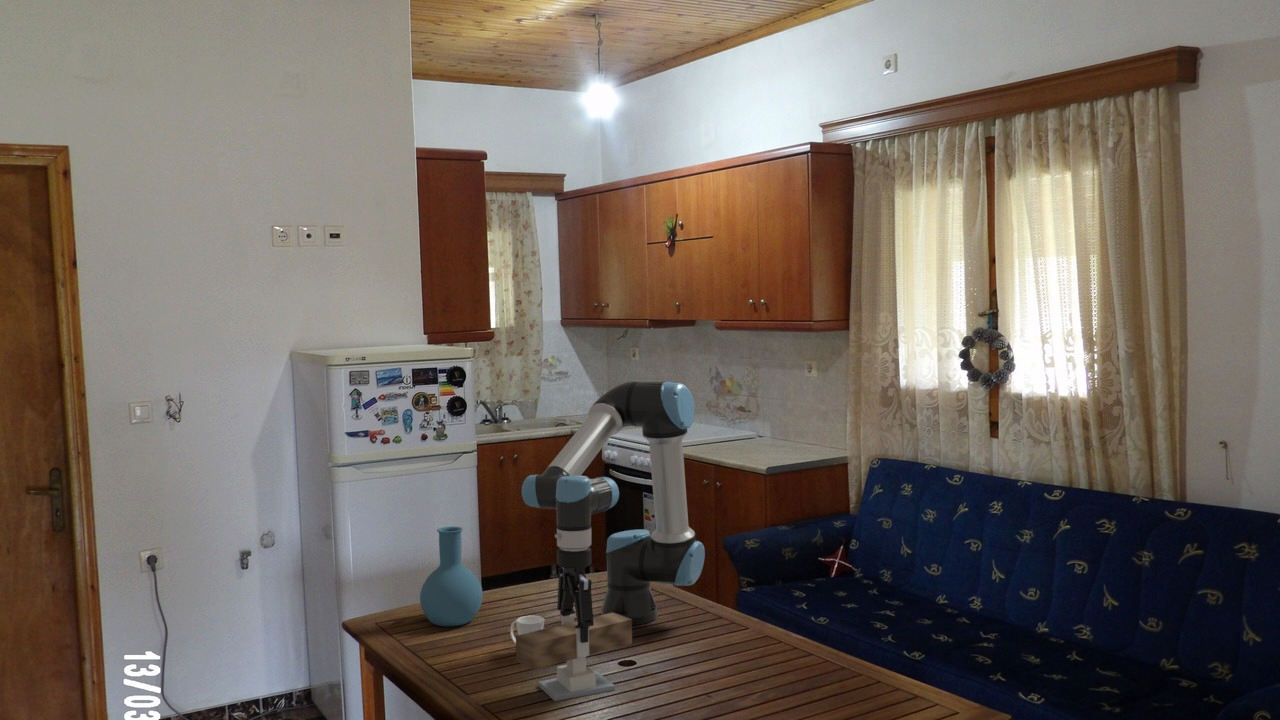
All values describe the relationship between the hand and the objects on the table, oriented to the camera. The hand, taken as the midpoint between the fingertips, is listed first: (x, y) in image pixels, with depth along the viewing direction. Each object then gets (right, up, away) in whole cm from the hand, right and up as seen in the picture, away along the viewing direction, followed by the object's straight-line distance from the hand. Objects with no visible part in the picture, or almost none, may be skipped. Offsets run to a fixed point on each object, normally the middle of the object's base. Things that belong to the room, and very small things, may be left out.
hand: (575, 650), depth 222 cm
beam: (0, 0, 0) cm, 0 cm away
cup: (-14, -8, +26) cm, 30 cm away
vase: (-36, -7, +51) cm, 63 cm away
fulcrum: (0, -8, +1) cm, 8 cm away
